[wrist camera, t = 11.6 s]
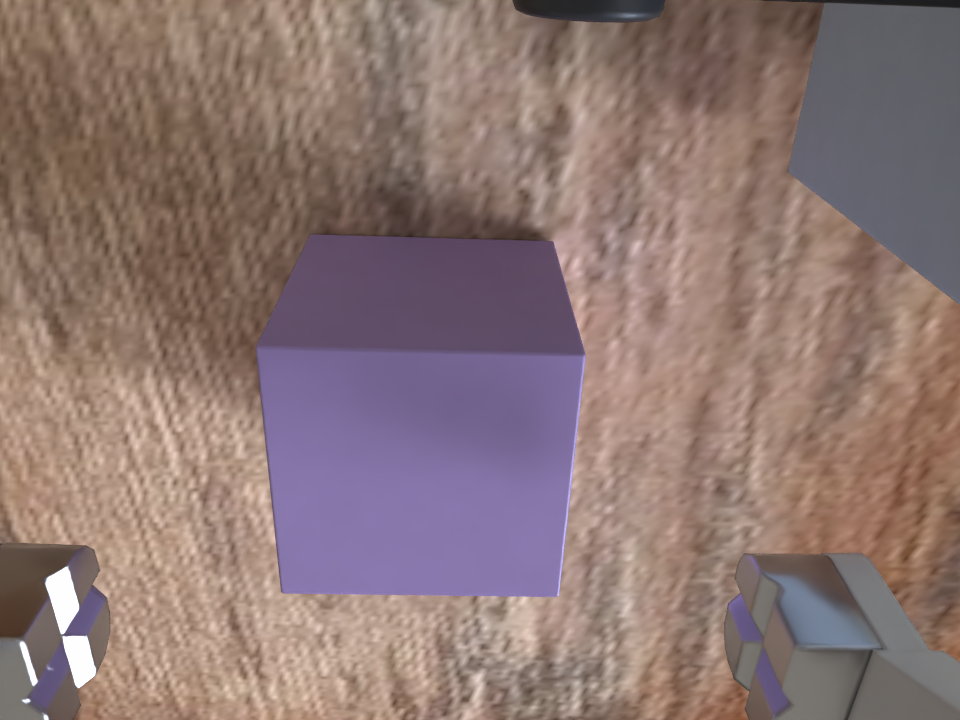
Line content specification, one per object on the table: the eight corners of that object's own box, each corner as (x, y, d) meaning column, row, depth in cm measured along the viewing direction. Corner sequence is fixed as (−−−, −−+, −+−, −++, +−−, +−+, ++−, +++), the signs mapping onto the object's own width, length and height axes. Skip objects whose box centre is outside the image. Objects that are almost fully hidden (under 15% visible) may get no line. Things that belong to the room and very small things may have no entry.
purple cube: (309, 233, 15) (253, 346, 11) (553, 240, 15) (586, 354, 11) (322, 438, 17) (280, 594, 13) (536, 442, 17) (559, 598, 13)
